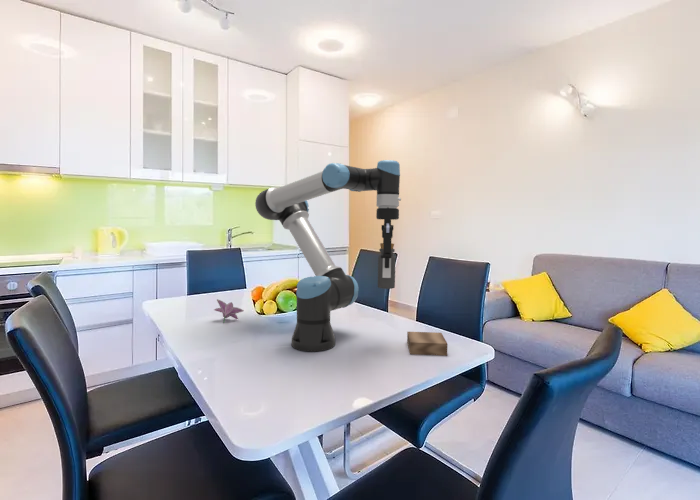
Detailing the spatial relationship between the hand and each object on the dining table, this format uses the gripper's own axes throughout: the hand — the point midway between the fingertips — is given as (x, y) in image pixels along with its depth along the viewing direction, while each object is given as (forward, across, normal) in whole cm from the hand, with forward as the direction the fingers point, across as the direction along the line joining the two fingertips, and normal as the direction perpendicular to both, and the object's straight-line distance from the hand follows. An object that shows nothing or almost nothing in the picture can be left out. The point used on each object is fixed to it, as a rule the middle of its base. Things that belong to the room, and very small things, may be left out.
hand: (386, 276), depth 127 cm
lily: (+25, +26, +66) cm, 75 cm away
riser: (+25, 0, -14) cm, 28 cm away
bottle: (+4, 0, 0) cm, 4 cm away
